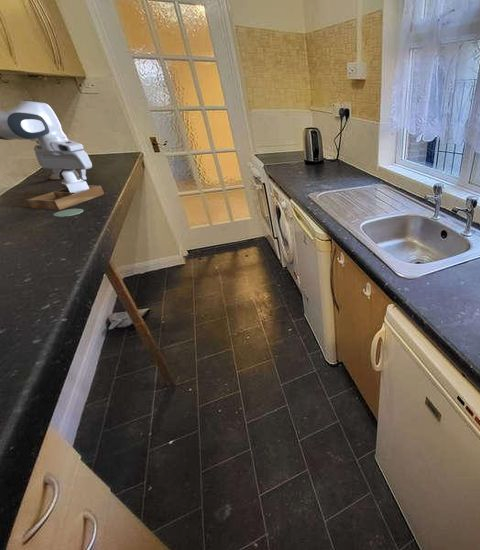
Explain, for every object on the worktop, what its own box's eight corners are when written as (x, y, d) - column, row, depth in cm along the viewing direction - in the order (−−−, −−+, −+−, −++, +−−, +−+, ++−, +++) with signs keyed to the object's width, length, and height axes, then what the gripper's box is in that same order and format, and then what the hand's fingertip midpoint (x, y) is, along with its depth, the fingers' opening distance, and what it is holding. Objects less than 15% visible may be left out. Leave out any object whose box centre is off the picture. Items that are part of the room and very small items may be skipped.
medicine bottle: (68, 198, 133) (54, 170, 127) (88, 194, 138) (75, 167, 132) (74, 201, 130) (59, 172, 123) (93, 197, 135) (80, 169, 128)
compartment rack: (30, 209, 120) (25, 199, 117) (79, 193, 139) (75, 185, 137) (59, 210, 119) (54, 200, 117) (104, 194, 139) (100, 185, 137)
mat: (46, 216, 113) (46, 215, 113) (67, 208, 121) (67, 208, 121) (69, 217, 113) (69, 216, 113) (89, 209, 121) (89, 208, 121)
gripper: (24, 146, 120) (43, 180, 127) (73, 147, 120) (89, 181, 127) (39, 143, 125) (57, 177, 133) (86, 144, 125) (101, 177, 132)
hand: (73, 179), depth 130 cm, fingers open, 8 cm apart
